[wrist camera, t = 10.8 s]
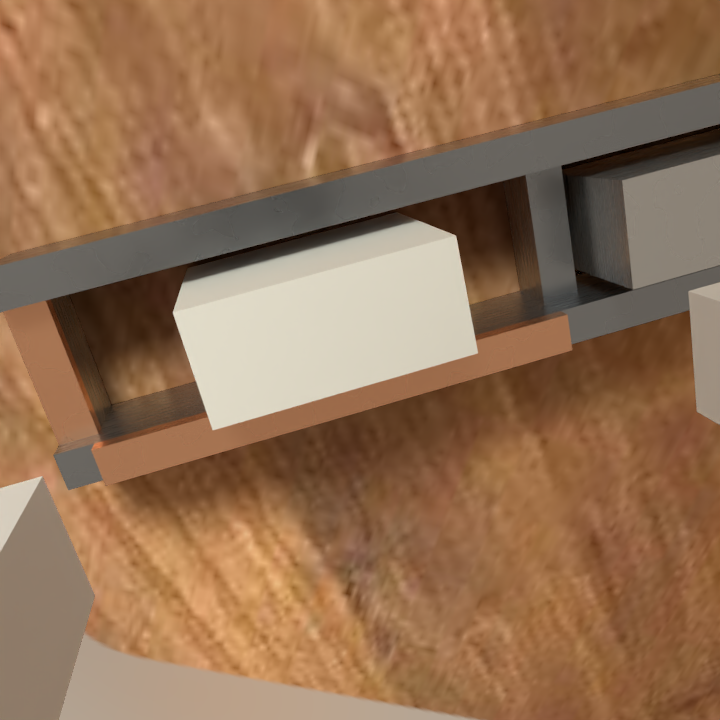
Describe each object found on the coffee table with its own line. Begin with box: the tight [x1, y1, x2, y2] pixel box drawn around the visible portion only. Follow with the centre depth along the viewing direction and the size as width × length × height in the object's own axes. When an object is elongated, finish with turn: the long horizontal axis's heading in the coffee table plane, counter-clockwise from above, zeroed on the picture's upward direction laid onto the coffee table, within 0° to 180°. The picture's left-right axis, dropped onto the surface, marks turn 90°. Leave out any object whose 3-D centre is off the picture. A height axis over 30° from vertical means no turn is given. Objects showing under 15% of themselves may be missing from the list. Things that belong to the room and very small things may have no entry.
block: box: [173, 212, 478, 430], centre depth 26 cm, size 4×9×8 cm, turn 104°
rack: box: [0, 74, 720, 490], centre depth 27 cm, size 8×35×6 cm, turn 103°
